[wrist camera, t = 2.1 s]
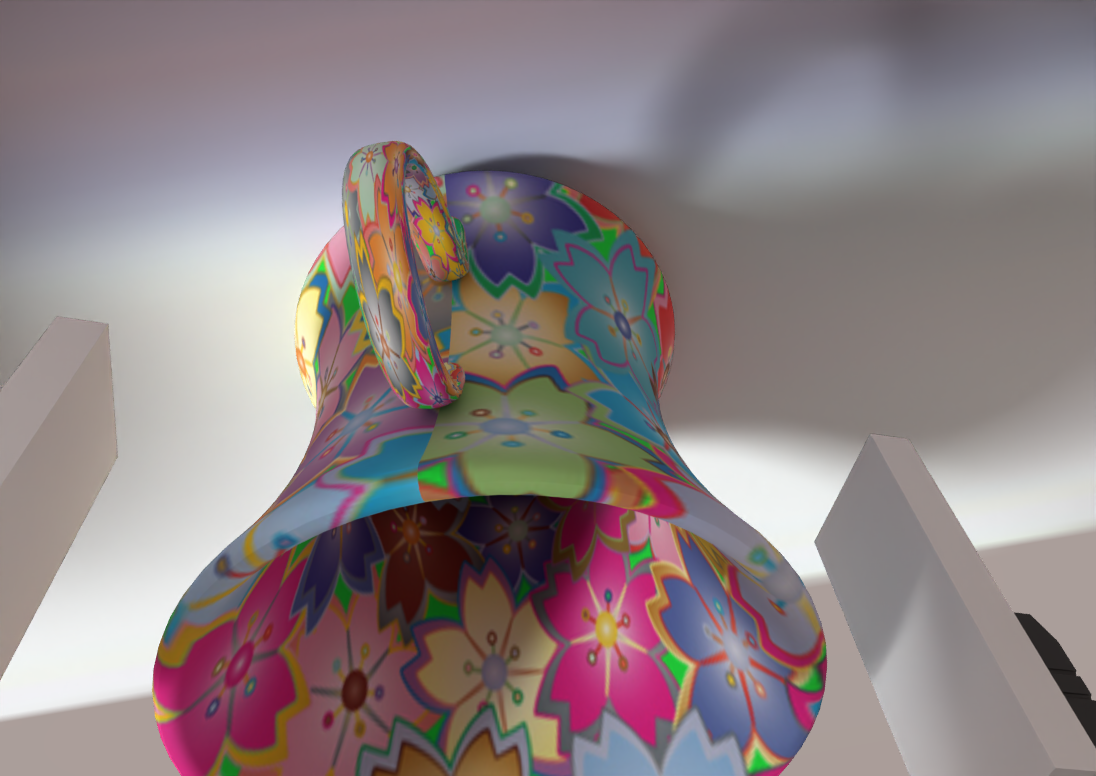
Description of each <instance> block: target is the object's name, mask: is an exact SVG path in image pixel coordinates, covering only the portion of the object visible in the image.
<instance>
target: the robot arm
mask: <svg viewBox="0 0 1096 776" xmlns="http://www.w3.org/2000/svg"><path fill="white" fill-rule="evenodd" d="M117 457H118V455H117V441H116V427H115V413H114V399H113V385H112V371H111V357H110V343H109V329H108V324H106V323H100V322H93V321H86V320H79V319H72V318H65V317H58V316H57V317H56V318H55V319H54V321H53V322H52V323H51V325H50V326H49V327H48V328H47V330H46V331H45V332H44V334H43V335H42V336H41V338H40V339H39V340H38V342H37V343H36V344H35V346H34V347H33V348H32V350H31V351H30V352H29V353H28V355H27V356H26V357H25V359H24V360H23V361H22V363H21V364H20V365H19V367H18V368H17V369H16V371H15V372H14V373H13V374H12V376H11V377H10V378H9V380H8V381H7V382H6V384H5V385H4V386H3V388H2V389H1V390H0V680H1V678H2V676H3V674H4V672H5V670H6V668H7V667H8V665H9V663H10V661H11V659H12V657H13V655H14V653H15V651H16V649H17V647H18V646H19V644H20V642H21V640H22V638H23V636H24V634H25V632H26V630H27V628H28V627H29V625H30V623H31V621H32V619H33V617H34V615H35V613H36V611H37V609H38V607H39V606H40V604H41V602H42V600H43V598H44V596H45V594H46V592H47V590H48V588H49V587H50V585H51V583H52V581H53V579H54V577H55V575H56V573H57V571H58V569H59V567H60V566H61V564H62V562H63V560H64V558H65V556H66V554H67V552H68V550H69V548H70V547H71V545H72V543H73V541H74V539H75V537H76V535H77V533H78V531H79V529H80V527H81V526H82V524H83V522H84V520H85V518H86V516H87V514H88V512H89V510H90V508H91V506H92V505H93V503H94V501H95V499H96V497H97V495H98V493H99V491H100V489H101V487H102V486H103V484H104V482H105V480H106V478H107V476H108V474H109V472H110V470H111V468H112V466H113V465H114V463H115V461H116V459H117ZM814 542H815V545H816V547H817V550H818V552H819V554H820V557H821V559H822V562H823V564H824V567H825V569H826V572H827V574H828V577H829V579H830V581H831V584H832V586H833V588H834V591H835V594H836V596H837V599H838V601H839V604H840V606H841V608H842V611H843V613H844V616H845V618H846V621H847V623H848V626H849V628H850V631H851V633H852V635H853V638H854V640H855V643H856V645H857V648H858V650H859V653H860V655H861V658H862V660H863V662H864V665H865V667H866V670H867V672H868V675H869V677H870V679H871V682H872V684H873V687H874V689H875V692H876V694H877V697H878V699H879V702H880V704H881V707H882V709H883V712H884V714H885V716H886V719H887V721H888V724H889V726H890V728H891V731H892V734H893V736H894V738H895V741H896V743H897V746H898V748H899V751H900V753H901V756H902V758H903V760H904V763H905V766H906V768H907V770H908V773H909V775H910V776H1096V701H1094V700H1091V693H1090V692H1089V690H1088V688H1087V687H1086V685H1085V684H1084V682H1083V680H1082V679H1081V677H1079V676H1076V669H1075V668H1074V667H1073V665H1072V663H1071V662H1070V660H1069V658H1068V657H1067V655H1066V654H1065V652H1064V650H1063V649H1062V647H1061V646H1060V644H1059V643H1058V642H1057V640H1056V639H1055V638H1054V637H1053V636H1052V635H1051V634H1050V633H1048V631H1046V629H1045V628H1043V627H1042V626H1041V625H1040V624H1039V623H1038V622H1037V621H1036V620H1035V619H1034V618H1033V617H1032V616H1031V615H1030V614H1022V613H1014V612H1013V611H1012V609H1011V607H1010V606H1009V604H1008V602H1007V601H1006V599H1005V597H1004V596H1003V594H1002V593H1001V591H1000V589H999V587H998V586H997V584H996V582H995V581H994V579H993V577H992V576H991V574H990V573H989V571H988V569H987V568H986V566H985V564H984V563H983V561H982V559H981V558H980V556H979V554H978V553H977V551H976V549H975V548H974V546H973V544H972V543H971V541H970V539H969V538H968V536H967V534H966V533H965V531H964V529H963V528H962V526H961V525H960V523H959V521H958V520H957V518H956V516H955V515H954V513H953V511H952V510H951V508H950V506H949V505H948V503H947V501H946V500H945V498H944V496H943V495H942V493H941V491H940V490H939V488H938V486H937V485H936V483H935V481H934V480H933V478H932V477H931V475H930V473H929V472H928V470H927V468H926V467H925V465H924V463H923V462H922V460H921V458H920V457H919V455H918V453H917V452H916V450H915V448H914V447H913V445H912V443H911V442H910V440H909V439H905V438H898V437H891V436H884V435H877V434H870V435H869V437H868V439H867V441H866V443H865V445H864V447H863V449H862V451H861V453H860V454H859V456H858V458H857V460H856V462H855V464H854V466H853V468H852V470H851V472H850V474H849V476H848V478H847V480H846V482H845V483H844V485H843V487H842V489H841V491H840V493H839V495H838V497H837V499H836V501H835V503H834V505H833V507H832V509H831V510H830V512H829V514H828V516H827V518H826V520H825V522H824V524H823V526H822V528H821V530H820V532H819V534H818V536H817V538H816V539H815V541H814Z"/></svg>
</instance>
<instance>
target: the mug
mask: <svg viewBox="0 0 1096 776" xmlns="http://www.w3.org/2000/svg"><path fill="white" fill-rule="evenodd" d="M342 207H343V219H344V226H343V227H342V228H341V229H340V230H339V231H338V232H337V233H336V234H335V235H334V236H333V237H332V239H331V240H330V241H329V242H328V243H327V244H326V246H325V247H324V249H323V250H322V251H321V253H320V254H319V256H318V257H317V258H316V260H315V262H314V264H313V266H312V268H311V269H310V271H309V273H308V275H307V278H306V280H305V283H304V285H303V288H302V291H301V294H300V298H299V302H298V305H297V312H296V319H295V347H296V356H297V361H298V365H299V370H300V374H301V377H302V380H303V383H304V386H305V389H306V391H307V393H308V395H309V397H310V399H311V402H312V403H313V405H314V407H315V408H316V421H315V426H314V431H313V435H312V438H311V441H310V444H309V446H308V449H307V451H306V453H305V456H304V458H303V460H302V462H301V464H300V465H299V467H298V469H297V471H296V473H295V474H294V476H293V478H292V479H291V481H290V482H289V484H288V485H287V486H286V488H285V489H284V490H283V492H282V493H281V494H280V496H279V497H278V498H277V500H276V501H275V502H274V503H273V504H272V505H271V507H270V508H269V509H268V510H267V511H266V512H265V513H264V514H263V515H262V516H261V517H260V518H259V519H258V520H257V521H256V522H255V523H254V524H253V525H252V526H251V527H250V528H249V529H247V530H246V531H245V532H244V533H243V534H241V535H240V536H239V537H238V538H237V539H235V540H234V541H233V542H232V543H231V544H229V545H228V546H227V547H226V548H225V549H224V550H223V551H222V552H221V553H220V554H219V555H218V556H217V557H216V558H215V559H214V560H213V561H212V562H211V563H210V564H209V565H208V566H207V567H206V568H205V569H204V570H203V571H202V572H201V573H200V575H199V576H198V577H197V578H196V580H195V581H194V582H193V583H192V585H191V586H190V587H189V588H188V590H187V591H186V592H185V594H184V595H183V596H182V598H181V600H180V601H179V603H178V605H177V606H176V608H175V610H174V612H173V613H172V615H171V617H170V619H169V621H168V624H167V626H166V629H165V631H164V634H163V636H162V639H161V641H160V644H159V647H158V652H157V656H156V661H155V665H154V671H153V687H152V692H153V702H154V711H155V718H156V722H157V726H158V729H159V733H160V736H161V739H162V741H163V744H164V746H165V748H166V750H167V753H168V755H169V757H170V759H171V760H172V762H173V763H174V765H175V767H176V768H177V770H178V771H179V773H180V775H181V776H779V775H780V773H781V772H782V771H783V770H784V769H785V768H786V767H787V766H788V765H789V763H790V762H791V761H792V759H793V758H794V756H795V755H796V754H797V752H798V751H799V749H800V748H801V747H802V745H803V743H804V741H805V740H806V738H807V736H808V734H809V733H810V731H811V729H812V727H813V724H814V722H815V719H816V717H817V715H818V712H819V710H820V706H821V702H822V698H823V694H824V690H825V681H826V671H827V655H826V642H825V638H824V634H823V629H822V624H821V621H820V618H819V616H818V613H817V611H816V608H815V606H814V603H813V601H812V598H811V596H810V594H809V592H808V591H807V589H806V587H805V585H804V584H803V582H802V580H801V579H800V577H799V575H798V574H797V573H796V572H795V570H794V569H793V568H792V567H791V565H790V564H789V563H788V561H787V560H786V559H785V558H784V556H783V555H782V554H781V553H780V552H779V551H778V550H777V549H776V548H775V547H774V546H773V545H772V544H771V543H770V542H769V541H768V540H767V539H766V538H764V537H763V536H762V535H761V534H760V533H759V532H758V531H757V530H755V529H754V528H753V527H751V526H750V525H749V524H747V523H746V522H745V521H743V520H742V519H741V518H739V517H738V516H737V515H736V514H734V513H733V512H732V511H731V510H729V509H728V508H727V507H726V506H725V505H723V504H722V503H721V502H720V501H719V500H717V499H716V498H715V497H714V496H713V495H712V494H711V493H710V492H709V491H708V490H707V489H706V488H705V487H704V486H703V485H702V484H701V483H700V482H699V480H698V479H697V478H696V477H695V476H694V474H693V473H692V472H691V471H690V469H689V468H688V467H687V465H686V464H685V462H684V461H683V460H682V458H681V457H680V455H679V454H678V452H677V450H676V449H675V447H674V445H673V443H672V441H671V439H670V437H669V435H668V433H667V431H666V428H665V426H664V423H663V420H662V416H661V413H660V408H659V400H658V399H659V397H660V395H661V393H662V391H663V388H664V386H665V384H666V381H667V377H668V374H669V371H670V367H671V362H672V357H673V351H674V338H675V325H674V314H673V307H672V302H671V298H670V295H669V291H668V287H667V285H666V282H665V280H664V277H663V275H662V273H661V271H660V269H659V267H658V265H657V263H656V261H655V260H654V258H653V256H652V255H651V253H650V252H649V251H648V249H647V248H646V246H645V245H644V244H643V242H642V241H641V240H640V239H639V238H638V237H637V235H636V234H635V233H634V232H633V231H632V230H631V229H630V228H629V227H628V226H627V225H626V224H625V223H624V222H622V221H621V220H620V219H619V218H618V217H617V216H616V215H615V214H613V213H612V212H611V211H609V210H608V209H606V208H605V207H604V206H602V205H601V204H600V203H598V202H596V201H594V200H593V199H591V198H589V197H588V196H586V195H584V194H582V193H580V192H578V191H576V190H574V189H571V188H569V187H567V186H565V185H562V184H559V183H556V182H553V181H550V180H547V179H543V178H539V177H535V176H531V175H527V174H520V173H513V172H504V171H467V172H459V173H452V174H445V175H440V176H436V177H434V176H433V174H432V172H431V170H430V169H429V167H428V165H427V164H426V162H425V161H424V159H423V158H422V157H421V155H420V154H419V153H418V152H417V151H416V150H415V149H414V148H413V147H412V146H410V145H408V144H406V143H403V142H399V141H389V142H382V143H377V144H372V145H369V146H365V147H363V148H361V149H359V150H357V151H356V152H355V153H354V154H353V155H352V156H351V157H350V159H349V161H348V163H347V165H346V168H345V172H344V177H343V186H342Z"/></svg>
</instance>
